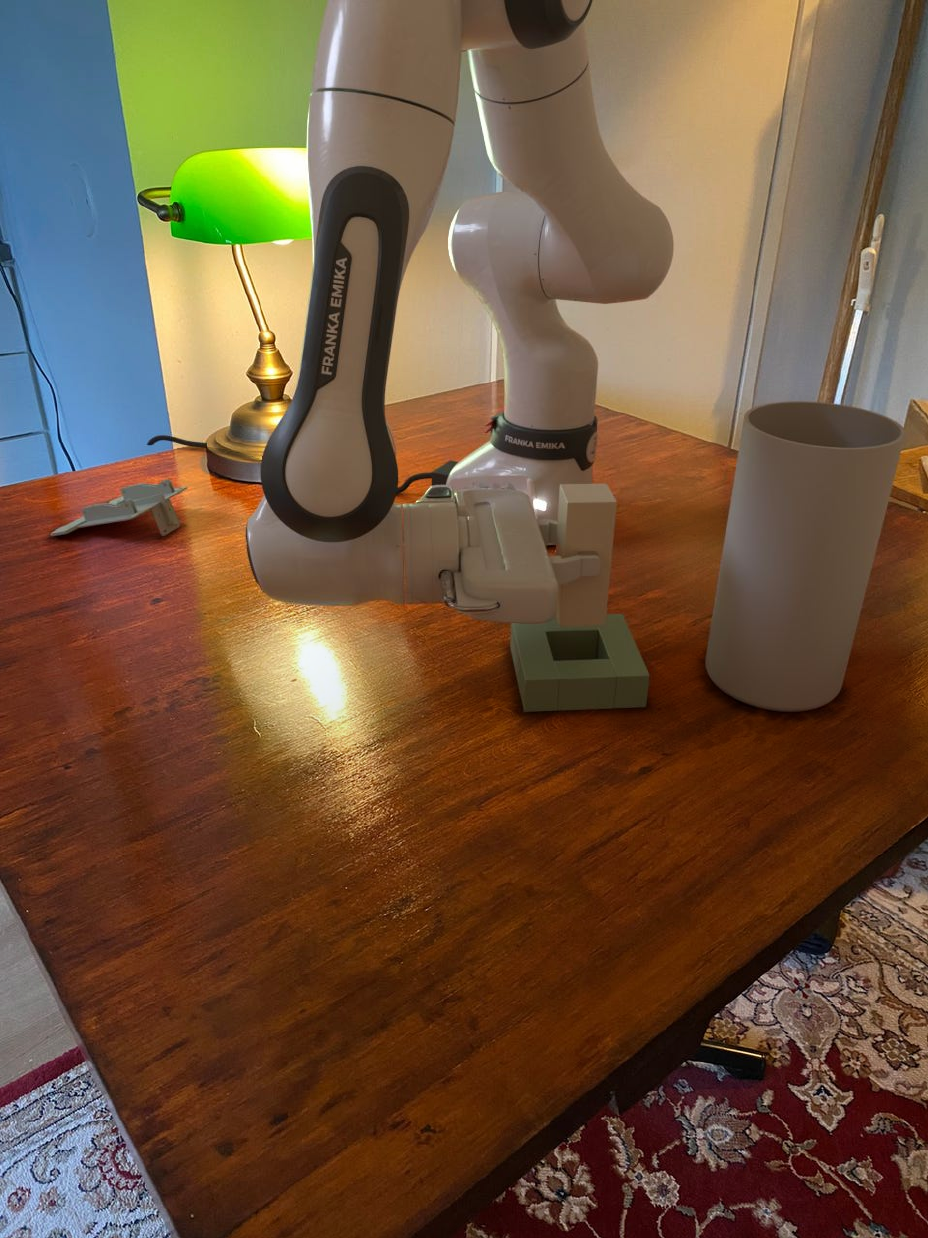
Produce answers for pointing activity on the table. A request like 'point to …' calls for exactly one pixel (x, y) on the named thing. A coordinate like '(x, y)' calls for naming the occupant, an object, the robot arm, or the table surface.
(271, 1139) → the table surface
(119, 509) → the metal bracket
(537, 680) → the block
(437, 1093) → the table surface
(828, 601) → the cylinder vase
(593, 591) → the beige rectangular block
